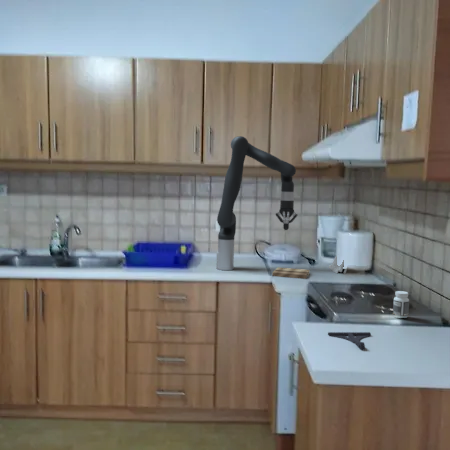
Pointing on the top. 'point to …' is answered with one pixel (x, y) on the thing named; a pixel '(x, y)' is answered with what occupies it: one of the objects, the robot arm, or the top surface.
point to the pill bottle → (401, 303)
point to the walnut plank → (290, 274)
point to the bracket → (352, 337)
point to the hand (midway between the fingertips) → (286, 229)
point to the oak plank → (294, 270)
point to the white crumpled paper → (336, 267)
